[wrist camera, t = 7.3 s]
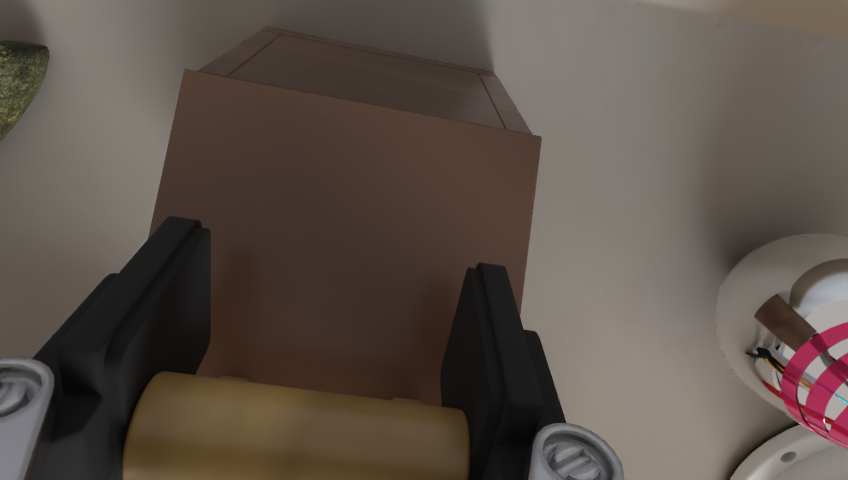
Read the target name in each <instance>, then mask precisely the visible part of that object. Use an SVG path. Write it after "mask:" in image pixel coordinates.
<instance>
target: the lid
mask: <svg viewBox="0 0 848 480" xmlns="http://www.w3.org/2000/svg"><path fill="white" fill-rule="evenodd" d="M541 140H542V138H541V137H540V136H536V135H531V134H525V133H520V132H515V131H510V130H504V129H499V128H494V127H488V126H483V125H478V124H473V123H467V122H462V121H457V120H451V119H446V118H441V117H436V116H430V115H425V114H420V113H414V112H409V111H404V110H399V109H393V108H388V107H383V106H377V105H372V104H367V103H362V102H356V101H351V100H346V99H340V98H335V97H330V96H325V95H319V94H314V93H309V92H304V91H298V90H293V89H288V88H282V87H277V86H272V85H267V84H261V83H256V82H251V81H245V80H240V79H235V78H230V77H224V76H219V75H214V74H208V73H203V72H198V71H193V70H187V69H185V70H184V74H183V79H182V83H181V88H180V93H179V97H178V102H177V107H176V111H175V116H174V121H173V125H172V130H171V135H170V139H169V144H168V149H167V153H166V158H165V163H164V167H163V172H162V177H161V181H160V186H159V191H158V195H157V200H156V205H155V209H154V214H153V219H152V223H151V228H150V233H149V237H148V239H149V238H150V237H151V236H152V235H153V233H154V232H155V231H156V230H157V229H158V228H159V226H160V225H161V224H162V223H163V222H164V221H165V220H166V218H167V217H169V216H176V217H182V218H189V219H196V220H200V222H201V224H202V228H208V229H209V230H210V233H211V337H210V343H209V346H208V350H207V352H206V354H205V356H204V358H203V360H202V362H201V364H200V366H199V368H198V370H197V372H196V374H195V375H191V374H183V373H175V372H167V371H164V372H160V373H157V374H156V375H155V376H153V378H152V379H151V380H150V381H149V383H148V384H147V386H146V387H145V389H144V391H143V392H142V394H141V396H140V398H139V400H138V402H137V405H136V407H135V409H134V412H133V415H132V417H131V420H130V424H129V427H128V430H127V434H126V438H125V442H124V448H123V454H122V464H121V478H122V480H469V474H470V456H471V443H470V430H469V424H468V419H467V416H466V414H465V412H464V411H462V410H460V409H456V408H449V407H442V402H441V386H440V373H441V366H442V362H443V358H444V354H445V350H446V346H447V343H448V339H449V335H450V331H451V327H452V323H453V320H454V316H455V312H456V308H457V304H458V301H459V297H460V293H461V289H462V285H463V281H464V278H465V274H466V271H467V269H468V267H469V268H476V266H477V264H478V263H479V262H481V263H488V264H495V265H501V266H505V267H506V270H507V273H508V277H509V280H510V284H511V287H512V291H513V295H514V298H515V302H516V305H517V309H518V312H519V316H520V313H521V304H522V296H523V288H524V280H525V271H526V263H527V255H528V247H529V238H530V230H531V222H532V214H533V205H534V197H535V189H536V181H537V173H538V164H539V156H540V148H541Z"/></svg>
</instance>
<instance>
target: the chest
mask: <svg viewBox="0 0 848 480" xmlns="http://www.w3.org/2000/svg"><path fill="white" fill-rule="evenodd" d="M198 72H203V73H208V74H214V75H219V76H224V77H230V78H235V79H240V80H245V81H251V82H256V83H261V84H267V85H272V86H277V87H282V88H288V89H293V90H298V91H304V92H309V93H314V94H319V95H325V96H330V97H335V98H340V99H346V100H351V101H356V102H362V103H367V104H372V105H377V106H383V107H388V108H393V109H399V110H404V111H409V112H414V113H420V114H425V115H430V116H436V117H441V118H446V119H451V120H457V121H462V122H467V123H473V124H478V125H483V126H488V127H494V128H499V129H504V130H510V131H515V132H520V133H525V134H531V135H533V134H532V133H531V131H530V129H529V128H528V126H527V124H526V123H525V121H524V119H523V118H522V116H521V115H520V113H519V111H518V110H517V108H516V106H515V105H514V103H513V102H512V100H511V98H510V97H509V95H508V93H507V92H506V90H505V89H504V87H503V85H502V84H501V82H500V80H499V79H498V77H497V76H496V74H495V73H493V72H488V71H483V70H478V69H473V68H468V67H463V66H458V65H453V64H448V63H443V62H438V61H433V60H428V59H423V58H418V57H413V56H408V55H403V54H398V53H393V52H388V51H383V50H378V49H373V48H368V47H363V46H358V45H353V44H348V43H343V42H338V41H333V40H329V39H324V38H319V37H314V36H309V35H304V34H299V33H294V32H289V31H284V30H279V29H274V28H269V27H264V28H263V29H261V30H260V31H259V32H257V33H255V34H254V35H252V36H251V37H249V38H248V39H246V40H245V41H243V42H242V43H240V44H238V45H237V46H235V47H234V48H232V49H231V50H229V51H228V52H226V53H224V54H223V55H221V56H220V57H218V58H217V59H215V60H214V61H212V62H211V63H209V64H207V65H206V66H204V67H203V68H201V69H200V70H198Z"/></svg>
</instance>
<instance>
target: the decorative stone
mask: <svg viewBox="0 0 848 480" xmlns="http://www.w3.org/2000/svg"><path fill="white" fill-rule="evenodd" d="M48 60H49V50H48V48H47V47H46V46H43V45H39V44H34V43H28V42H21V41H0V141H1V140H2V139H3V137H4V136H5V135H6V134H7V133H8V132H9V131H10V129H11V128H12V127H13V126H14V125H15V123H16V122H17V121H18V120H19V118H20V117H21V116H22V114H23V113H24V111H25V110H26V108H27V107H28V106H29V104H30V103H31V101H32V99H33V98H34V96H35V94H36V93H37V91H38V89H39V87H40V85H41V83H42V80H43V78H44V75H45V73H46V69H47V65H48Z"/></svg>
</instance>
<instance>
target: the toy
mask: <svg viewBox="0 0 848 480" xmlns="http://www.w3.org/2000/svg"><path fill="white" fill-rule="evenodd" d="M715 327H716V333H717V337H718V341H719V344H720V347H721V350H722V353H723V355H724V357H725V359H726V360H727V362H728V363H729V365H730V367H731V368H732V370H733V371H734V373H735V374H736V375H737V376H738V377H739V378H740V379H741V380H742V381H743V382H744V383H745V384H746V385H747V386H748V387H749V388H750V389H751V390H752V391H753V392H754V393H756V394H757V395H758V396H760V397H761V398H762V399H764V400H765V401H766V402H768V403H769V404H770V405H772V406H773V407H774V408H776V409H777V410H779V411H780V412H782V413H783V414H785V415H787V416H788V417H790V418H791V419H793V420H794V421H796V422H798V423H800V424H801V425H802V426H804V427H805V428H806V429H808V430H810V431H811V432H813V433H815V434H816V435H819V436H821V437H823V438H825V439H827V440H828V441H829V442H830V443H833V444H835V445H837V446H839V447H842V448H844V449H846V450H848V237H844V236H839V235H833V234H822V233H819V234H799V235H793V236H788V237H784V238H781V239H778V240H775V241H772V242H770V243H767V244H765V245H763V246H761V247H759V248H757V249H755V250H753V251H752V252H750V253H749V254H748V255H746V256H745V257H744V258H743V259H741V260H740V261H739V262H738V263H737V264H736V265H735V266H734V268H733V269H732V270H731V272H730V273H729V274H728V276H727V277H726V279H725V280H724V282H723V284H722V286H721V288H720V290H719V293H718V297H717V301H716V308H715Z"/></svg>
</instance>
